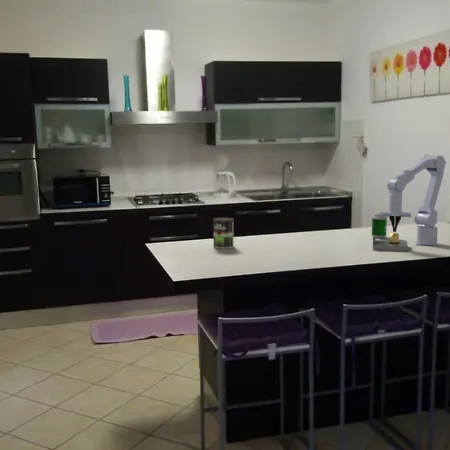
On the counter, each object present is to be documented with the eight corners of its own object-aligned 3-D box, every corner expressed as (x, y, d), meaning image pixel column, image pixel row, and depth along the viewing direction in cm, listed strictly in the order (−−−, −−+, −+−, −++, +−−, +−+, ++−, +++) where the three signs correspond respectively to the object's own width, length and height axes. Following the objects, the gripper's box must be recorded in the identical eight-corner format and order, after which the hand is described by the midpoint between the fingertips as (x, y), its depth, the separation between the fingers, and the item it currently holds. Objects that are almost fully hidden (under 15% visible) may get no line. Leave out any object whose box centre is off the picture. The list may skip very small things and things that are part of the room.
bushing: (398, 247, 274) (398, 233, 273) (398, 248, 270) (399, 234, 269) (389, 246, 275) (390, 232, 274) (389, 248, 271) (390, 234, 270)
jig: (406, 246, 276) (406, 238, 275) (407, 251, 264) (408, 243, 264) (372, 245, 280) (372, 237, 279) (372, 250, 268) (372, 241, 268)
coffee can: (228, 249, 274) (227, 221, 272) (209, 247, 279) (209, 219, 277) (237, 245, 283) (237, 218, 281) (219, 244, 288) (219, 216, 286)
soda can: (382, 239, 294) (383, 216, 292) (369, 237, 298) (369, 215, 296) (388, 237, 300) (389, 214, 298) (374, 235, 304) (375, 213, 302)
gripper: (379, 204, 267) (379, 232, 269) (412, 205, 263) (410, 233, 265) (379, 202, 274) (378, 230, 276) (411, 203, 270) (409, 231, 272)
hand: (394, 231), depth 271 cm, fingers closed
